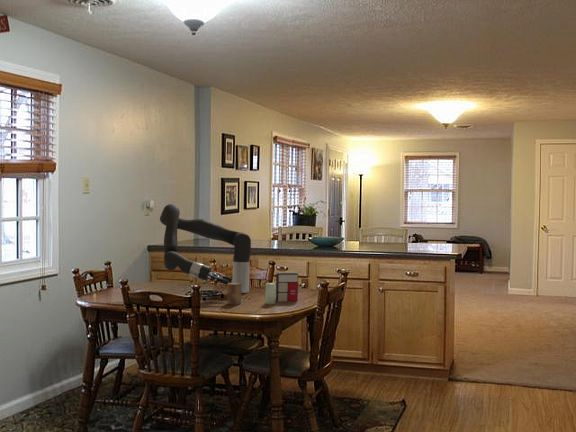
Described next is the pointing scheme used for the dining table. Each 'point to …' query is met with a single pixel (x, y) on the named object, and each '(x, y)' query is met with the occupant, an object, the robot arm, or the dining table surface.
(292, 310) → the dining table surface
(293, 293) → the miniature cabinet
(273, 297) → the sage cylinder
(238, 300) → the walnut block
